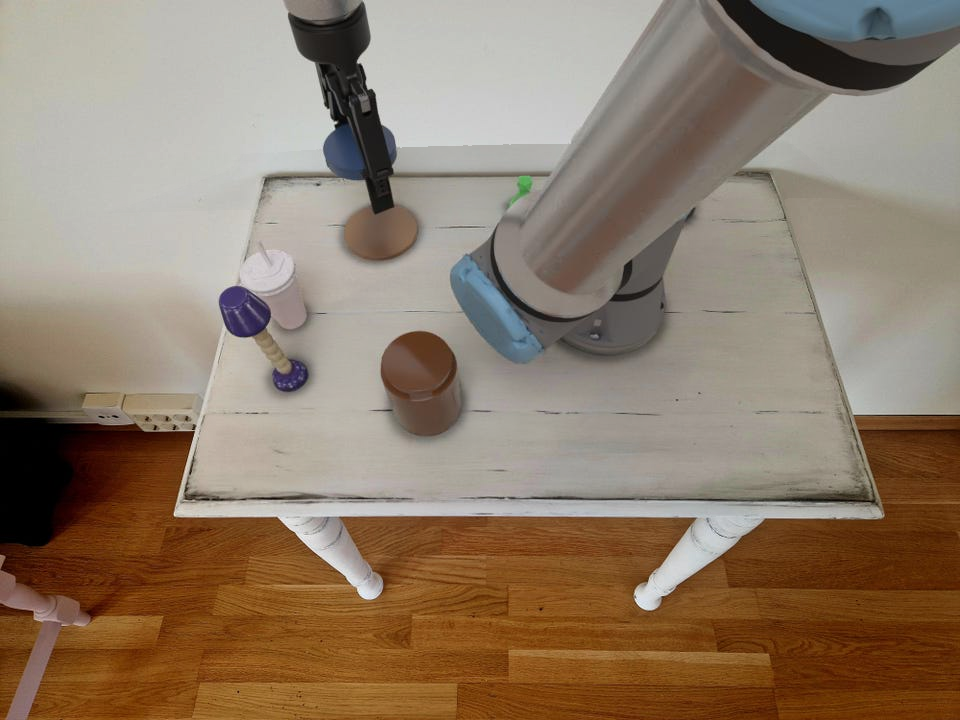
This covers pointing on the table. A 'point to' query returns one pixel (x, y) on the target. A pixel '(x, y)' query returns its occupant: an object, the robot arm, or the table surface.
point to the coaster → (380, 233)
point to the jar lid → (350, 152)
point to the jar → (422, 383)
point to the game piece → (522, 187)
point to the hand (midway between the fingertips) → (369, 186)
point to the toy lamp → (260, 334)
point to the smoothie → (275, 285)
